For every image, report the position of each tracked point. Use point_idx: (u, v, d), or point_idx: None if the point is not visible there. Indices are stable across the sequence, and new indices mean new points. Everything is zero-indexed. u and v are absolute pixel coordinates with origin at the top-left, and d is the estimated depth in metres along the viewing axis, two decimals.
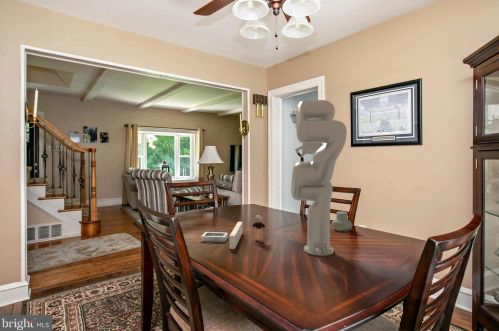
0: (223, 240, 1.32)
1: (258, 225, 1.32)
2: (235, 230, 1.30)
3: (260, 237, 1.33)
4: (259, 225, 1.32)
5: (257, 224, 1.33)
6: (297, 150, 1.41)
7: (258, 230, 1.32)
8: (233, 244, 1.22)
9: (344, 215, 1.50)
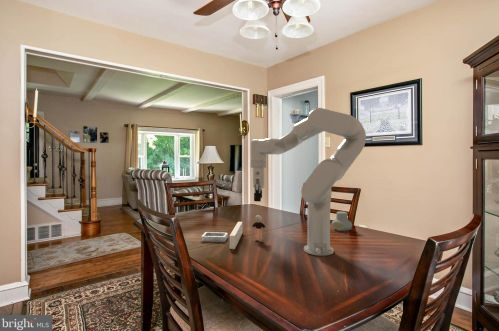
0: (223, 240, 1.32)
1: (258, 225, 1.32)
2: (235, 230, 1.30)
3: (260, 237, 1.33)
4: (259, 225, 1.32)
5: (257, 224, 1.33)
6: (258, 185, 1.25)
7: (258, 230, 1.32)
8: (233, 244, 1.22)
9: (344, 215, 1.50)
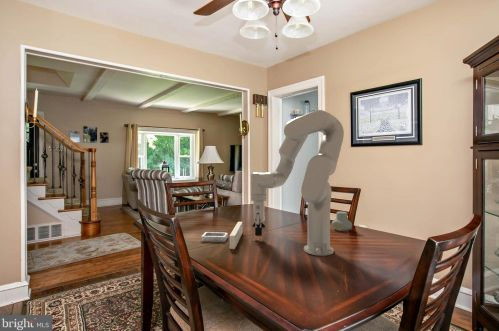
0: (223, 240, 1.32)
1: None
2: (235, 230, 1.30)
3: (260, 237, 1.33)
4: None
5: None
6: (259, 222, 1.28)
7: None
8: (233, 244, 1.22)
9: (344, 215, 1.50)
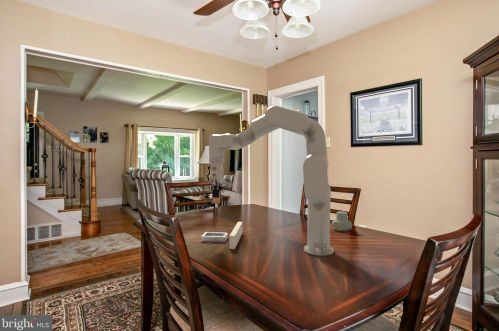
0: (223, 240, 1.32)
1: None
2: (235, 230, 1.30)
3: (218, 199, 1.34)
4: None
5: None
6: (215, 183, 1.29)
7: None
8: (233, 244, 1.22)
9: (344, 215, 1.50)
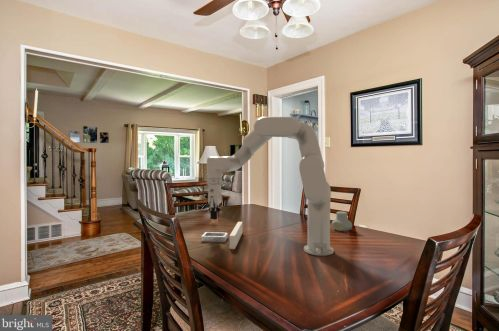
0: (223, 240, 1.32)
1: None
2: (235, 230, 1.30)
3: (216, 220, 1.35)
4: None
5: None
6: (213, 206, 1.30)
7: None
8: (233, 244, 1.22)
9: (344, 215, 1.50)
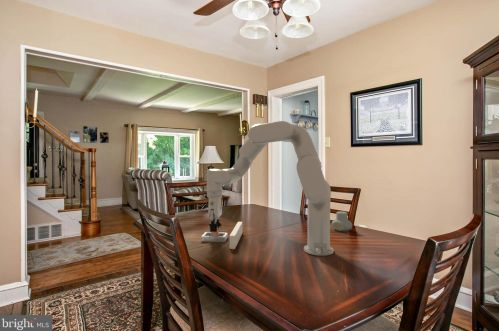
0: (223, 240, 1.32)
1: None
2: (235, 230, 1.30)
3: (216, 235, 1.35)
4: None
5: None
6: (212, 218, 1.29)
7: None
8: (233, 244, 1.22)
9: (344, 215, 1.50)
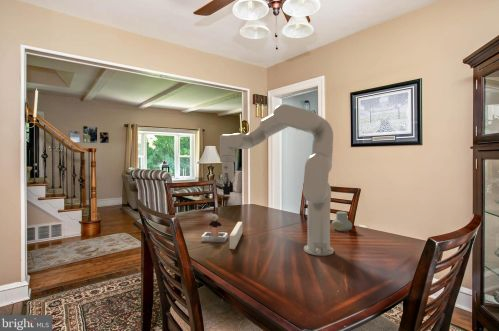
0: (223, 240, 1.32)
1: (214, 224, 1.35)
2: (235, 230, 1.30)
3: (216, 235, 1.35)
4: (215, 224, 1.35)
5: (213, 223, 1.35)
6: (226, 179, 1.29)
7: (214, 228, 1.35)
8: (233, 244, 1.22)
9: (344, 215, 1.50)
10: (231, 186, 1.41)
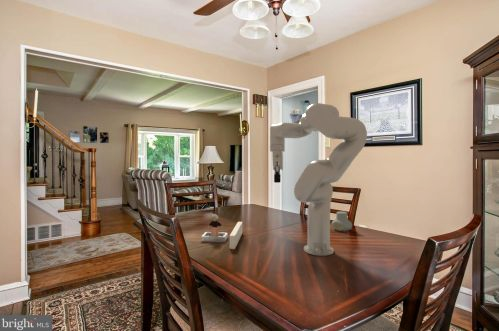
0: (223, 240, 1.32)
1: (214, 224, 1.35)
2: (235, 230, 1.30)
3: (216, 235, 1.35)
4: (215, 224, 1.35)
5: (213, 223, 1.35)
6: (278, 167, 1.34)
7: (214, 228, 1.35)
8: (233, 244, 1.22)
9: (344, 215, 1.50)
10: None
